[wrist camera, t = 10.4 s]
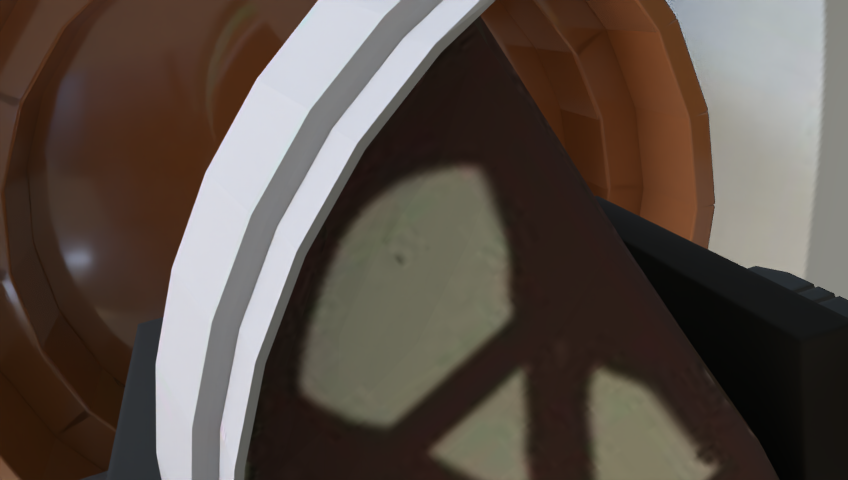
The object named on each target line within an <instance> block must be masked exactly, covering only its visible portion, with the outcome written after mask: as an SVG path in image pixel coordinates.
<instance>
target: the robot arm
mask: <svg viewBox="0 0 848 480" xmlns="http://www.w3.org/2000/svg"><path fill="white" fill-rule="evenodd" d="M595 198H596V199H597V201H598V202H599V204H600V206H601V207H602V209H603V210H604V212H605V214H606V215H607V217H608V218H609V220H610V221H611V223H612V225H613V226H614V228H615V229H616V231H617V233H618V234H619V236H620V237H621V239H622V241H623V242H624V244H625V245H626V247H627V248H628V250H629V252H630V253H631V255H632V256H633V258H634V259H635V261H636V262H637V264H638V265H639V267H640V268H641V270H642V271H643V273H644V274H645V276H646V277H647V278H648V280H649V281H650V283H651V284H652V286H653V287H654V289H655V290H656V292H657V293H658V295H659V296H660V298H661V299H662V301H663V302H664V304H665V305H666V307H667V308H668V310H669V311H670V313H671V314H672V316H673V317H674V319H675V320H676V322H677V323H678V325H679V326H680V328H681V329H682V331H683V332H684V334H685V335H686V337H687V338H688V340H689V341H690V343H691V344H692V346H693V347H694V349H695V350H696V352H697V353H698V354H699V356H700V357H701V359H702V360H703V362H704V363H705V364H706V366H707V367H708V369H709V370H710V372H711V373H712V374H713V376H714V377H715V379H716V380H717V381H718V383H719V384H720V386H721V387H722V389H723V390H724V391H725V393H726V394H727V396H728V397H729V399H730V400H731V402H732V403H733V404H734V406H735V407H736V409H737V410H738V412H739V413H740V414H741V416H742V417H743V419H744V420H745V422H746V423H747V424H748V426H749V427H750V429H751V430H752V432H753V433H754V435H755V436H756V437H757V439H758V440H759V442H760V444H761V446H762V448H763V449H764V451H765V453H766V455H767V457H768V459H769V461H770V463H771V465H772V466H773V468H774V470H775V472H776V474H777V476H778V478H779V480H848V300H847V299H844V298H842V297H840V296H839V297H835V295H834V293H832V292H829V291H827V290H825V289H823V288H821V287H816V288H815V287H814V284H812V283H810V282H808V281H806V280H803V279H801V278H799V277H797V276H795V275H792V274H790V273H788V272H783V271H778V270H773V269H768V268H763V267H758V266H754V267H751V268H748V269H747V268H745V267H743V266H740V265H738V264H736V263H734V262H732V261H730V260H728V259H726V258H724V257H722V256H720V255H718V254H716V253H714V252H712V251H710V250H708V249H706V248H704V247H702V246H700V245H697V244H695V243H693V242H691V241H689V240H687V239H685V238H683V237H681V236H679V235H677V234H675V233H673V232H671V231H669V230H667V229H665V228H663V227H661V226H659V225H657V224H654V223H652V222H650V221H648V220H646V219H644V218H642V217H640V216H638V215H636V214H634V213H632V212H630V211H628V210H626V209H624V208H622V207H620V206H618V205H616V204H614V203H611V202H609V201H607V200H605V199H603V198H601V197H599V196H595ZM163 318H164V317H161V318H158V319H154V320H151V321H147V322H143V323H140V324H138V327H137V332H136V336H135V341H134V346H133V351H132V356H131V361H130V366H129V371H128V375H127V380H126V385H125V390H124V395H123V400H122V405H121V410H120V414H119V419H118V424H117V429H116V434H115V439H114V444H113V449H112V453H111V458H110V463H109V468H108V471H105V472H102V473H99V474H96V475H92V476H89V477H86V478H83V479H80V480H162V479H161V474H160V469H159V464H158V459H157V454H156V359H157V353H158V347H159V341H160V335H161V329H162V323H163Z"/></svg>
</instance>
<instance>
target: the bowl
mask: <svg viewBox="0 0 848 480" xmlns="http://www.w3.org/2000/svg"><path fill="white" fill-rule="evenodd" d="M317 1H318V0H0V480H80V479H83V478H86V477H89V476H92V475H96V474H99V473H102V472H105V471H108V468H109V463H110V458H111V453H112V449H113V444H114V439H115V434H116V429H117V424H118V419H119V414H120V410H121V405H122V400H123V395H124V390H125V385H126V380H127V375H128V371H129V366H130V361H131V356H132V351H133V346H134V341H135V336H136V332H137V327H138V324H140V323H143V322H147V321H151V320H154V319H158V318H161V317H164V312H165V306H166V300H167V294H168V288H169V282H170V276H171V270H172V267H173V264H174V261H175V258H176V255H177V252H178V249H179V247H180V244H181V241H182V238H183V235H184V232H185V230H186V227H187V224H188V221H189V218H190V215H191V213H192V210H193V207H194V204H195V201H196V198H197V195H198V193H199V190H200V187H201V184H202V181H203V178H204V176H205V173H206V171H207V169H208V167H209V165H210V163H211V162H212V160H213V158H214V156H215V154H216V152H217V151H218V149H219V147H220V145H221V143H222V141H223V140H224V138H225V136H226V134H227V132H228V130H229V129H230V127H231V125H232V123H233V121H234V120H235V118H236V116H237V114H238V112H239V110H240V109H241V107H242V105H243V103H244V101H245V99H246V98H247V96H248V94H249V92H250V90H251V88H252V87H253V85H254V83H255V81H256V79H257V78H258V77H259V75H260V74H261V73H262V72H263V70H264V69H265V68H266V66H267V65H268V64H269V63H270V61H271V60H272V59H273V57H274V56H275V55H276V54H277V52H278V51H279V50H280V48H281V47H282V46H283V45H284V43H285V42H286V41H287V39H288V38H289V37H290V36H291V34H292V33H293V32H294V30H295V29H296V28H297V27H298V25H299V24H300V23H301V21H302V20H303V19H304V18H305V16H306V15H307V14H308V12H309V11H310V10H311V9H312V7H313V6H314V5H315V3H316V2H317ZM480 16H481V17H482V19H483V21H484V22H485V24H486V25H487V27H488V28H489V30H490V32H491V33H492V35H493V36H494V38H495V39H496V41H497V43H498V44H499V46H500V47H501V49H502V51H503V52H504V54H505V55H506V57H507V58H508V60H509V62H510V63H511V65H512V66H513V68H514V69H515V71H516V73H517V74H518V76H519V77H520V79H521V80H522V82H523V84H524V85H525V87H526V88H527V90H528V91H529V93H530V95H531V96H532V98H533V99H534V101H535V103H536V104H537V106H538V107H539V109H540V110H541V112H542V114H543V115H544V117H545V118H546V120H547V121H548V123H549V125H550V126H551V128H552V129H553V131H554V133H555V134H556V136H557V137H558V139H559V141H560V142H561V144H562V145H563V147H564V148H565V150H566V152H567V153H568V155H569V156H570V158H571V160H572V161H573V163H574V164H575V166H576V168H577V169H578V171H579V172H580V174H581V175H582V177H583V179H584V180H585V182H586V183H587V185H588V187H589V188H590V190H591V191H592V193H593V194H594V196H599V197H601V198H603V199H605V200H607V201H609V202H611V203H614V204H616V205H618V206H620V207H622V208H624V209H626V210H628V211H630V212H632V213H634V214H636V215H638V216H640V217H642V218H644V219H646V220H648V221H650V222H652V223H654V224H657V225H659V226H661V227H663V228H665V229H667V230H669V231H671V232H673V233H675V234H677V235H679V236H681V237H683V238H685V239H687V240H689V241H691V242H693V243H695V244H697V245H700V246H702V247H704V248H706V249H708V244H709V238H710V232H711V226H712V220H713V214H714V208H715V207H714V204H715V196H714V182H713V169H712V155H711V142H710V128H709V115H708V112H707V110H708V108H707V105H706V102H705V99H704V96H703V93H702V91H701V88H700V85H699V82H698V79H697V76H696V73H695V70H694V67H693V64H692V61H691V58H690V55H689V52H688V49H687V46H686V43H685V40H684V37H683V34H682V31H681V28H680V25H679V22H678V20H677V19H676V16H675V14H674V13H673V11H672V10H671V8H670V7H669V5H668V4H667V2H666V1H665V0H495V1H494V2H493V3H492V4H491V5H490V6H489V7H488V8H487V9H486V10H485V11H484V12H483V13H482V14H481V15H480Z"/></svg>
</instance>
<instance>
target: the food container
mask: <svg viewBox="0 0 848 480" xmlns="http://www.w3.org/2000/svg"><path fill="white" fill-rule="evenodd" d="M494 1H495V0H318V1H317V2H316V3H315V5H314V6H313V7H312V9H311V10H310V11H309V12H308V14H307V15H306V16H305V18H304V19H303V20H302V21H301V23H300V24H299V25H298V27H297V28H296V29H295V30H294V32H293V33H292V34H291V36H290V37H289V38H288V39H287V41H286V42H285V43H284V45H283V46H282V47H281V48H280V50H279V51H278V52H277V54H276V55H275V56H274V57H273V59H272V60H271V61H270V63H269V64H268V65H267V66H266V68H265V69H264V70H263V72H262V73H261V74H260V75H259V77H258V78H257V79H256V81H255V83H254V85H253V87H252V88H251V90H250V92H249V94H248V96H247V98H246V99H245V101H244V103H243V105H242V107H241V109H240V110H239V112H238V114H237V116H236V118H235V120H234V121H233V123H232V125H231V127H230V129H229V130H228V132H227V134H226V136H225V138H224V140H223V141H222V143H221V145H220V147H219V149H218V151H217V152H216V154H215V156H214V158H213V160H212V162H211V163H210V165H209V167H208V169H207V171H206V173H205V176H204V178H203V181H202V184H201V187H200V190H199V193H198V195H197V198H196V201H195V204H194V207H193V210H192V213H191V215H190V218H189V221H188V224H187V227H186V230H185V232H184V235H183V238H182V241H181V244H180V247H179V249H178V252H177V255H176V258H175V261H174V264H173V267H172V270H171V276H170V282H169V288H168V294H167V300H166V306H165V312H164V318H163V323H162V329H161V335H160V341H159V347H158V353H157V359H156V454H157V459H158V464H159V469H160V474H161V479H162V480H779V478H778V476H777V474H776V472H775V470H774V468H773V466H772V465H771V463H770V461H769V459H768V457H767V455H766V453H765V451H764V449H763V448H762V446H761V444H760V442H759V440H758V439H757V437H756V436H755V435H754V433H753V432H752V430H751V429H750V427H749V426H748V424H747V423H746V422H745V420H744V419H743V417H742V416H741V414H740V413H739V412H738V410H737V409H736V407H735V406H734V404H733V403H732V402H731V400H730V399H729V397H728V396H727V394H726V393H725V391H724V390H723V389H722V387H721V386H720V384H719V383H718V381H717V380H716V379H715V377H714V376H713V374H712V373H711V372H710V370H709V369H708V367H707V366H706V364H705V363H704V362H703V360H702V359H701V357H700V356H699V354H698V353H697V352H696V350H695V349H694V347H693V346H692V344H691V343H690V341H689V340H688V338H687V337H686V335H685V334H684V332H683V331H682V329H681V328H680V326H679V325H678V323H677V322H676V320H675V319H674V317H673V316H672V314H671V313H670V311H669V310H668V308H667V307H666V305H665V304H664V302H663V301H662V299H661V298H660V296H659V295H658V293H657V292H656V290H655V289H654V287H653V286H652V284H651V283H650V281H649V280H648V278H647V277H646V276H645V274H644V273H643V271H642V270H641V268H640V267H639V265H638V264H637V262H636V261H635V259H634V258H633V256H632V255H631V253H630V252H629V250H628V248H627V247H626V245H625V244H624V242H623V241H622V239H621V237H620V236H619V234H618V233H617V231H616V229H615V228H614V226H613V225H612V223H611V221H610V220H609V218H608V217H607V215H606V214H605V212H604V210H603V209H602V207H601V206H600V204H599V202H598V201H597V199H596V198H595V196H594V194H593V193H592V191H591V190H590V188H589V187H588V185H587V183H586V182H585V180H584V179H583V177H582V175H581V174H580V172H579V171H578V169H577V168H576V166H575V164H574V163H573V161H572V160H571V158H570V156H569V155H568V153H567V152H566V150H565V148H564V147H563V145H562V144H561V142H560V141H559V139H558V137H557V136H556V134H555V133H554V131H553V129H552V128H551V126H550V125H549V123H548V121H547V120H546V118H545V117H544V115H543V114H542V112H541V110H540V109H539V107H538V106H537V104H536V103H535V101H534V99H533V98H532V96H531V95H530V93H529V91H528V90H527V88H526V87H525V85H524V84H523V82H522V80H521V79H520V77H519V76H518V74H517V73H516V71H515V69H514V68H513V66H512V65H511V63H510V62H509V60H508V58H507V57H506V55H505V54H504V52H503V51H502V49H501V47H500V46H499V44H498V43H497V41H496V39H495V38H494V36H493V35H492V33H491V32H490V30H489V28H488V27H487V25H486V24H485V22H484V21H483V19H482V17H481V16H480V15H481V14H482V13H483V12H484V11H485V10H486V9H487V8H488V7H489V6H490V5H491V4H492V3H493V2H494Z"/></svg>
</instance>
